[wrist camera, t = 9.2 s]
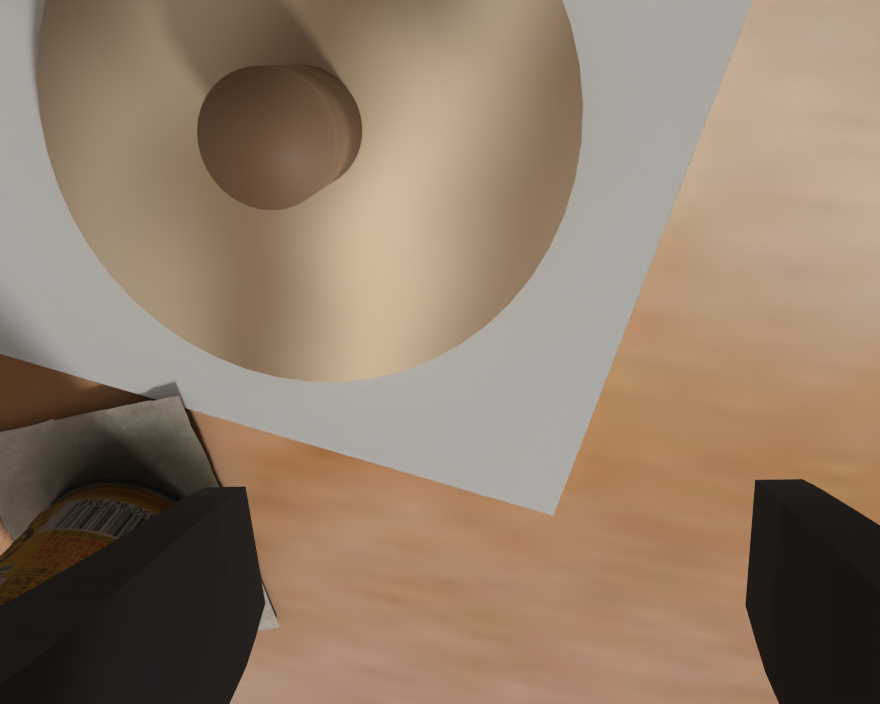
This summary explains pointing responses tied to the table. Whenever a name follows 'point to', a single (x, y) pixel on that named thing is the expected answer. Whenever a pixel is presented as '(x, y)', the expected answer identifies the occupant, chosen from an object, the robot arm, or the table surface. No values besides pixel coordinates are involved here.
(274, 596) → the table surface
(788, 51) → the table surface
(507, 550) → the table surface
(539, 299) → the mat
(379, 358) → the lid
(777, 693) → the robot arm
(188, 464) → the condiment
